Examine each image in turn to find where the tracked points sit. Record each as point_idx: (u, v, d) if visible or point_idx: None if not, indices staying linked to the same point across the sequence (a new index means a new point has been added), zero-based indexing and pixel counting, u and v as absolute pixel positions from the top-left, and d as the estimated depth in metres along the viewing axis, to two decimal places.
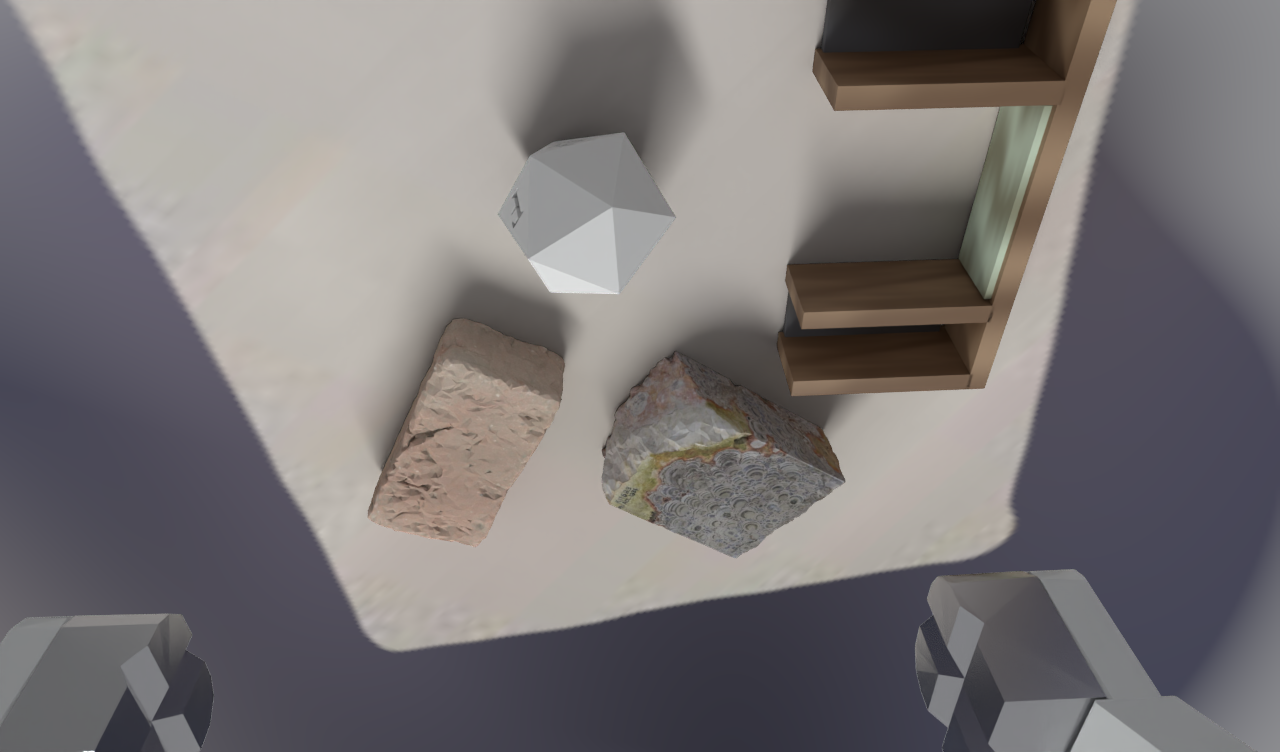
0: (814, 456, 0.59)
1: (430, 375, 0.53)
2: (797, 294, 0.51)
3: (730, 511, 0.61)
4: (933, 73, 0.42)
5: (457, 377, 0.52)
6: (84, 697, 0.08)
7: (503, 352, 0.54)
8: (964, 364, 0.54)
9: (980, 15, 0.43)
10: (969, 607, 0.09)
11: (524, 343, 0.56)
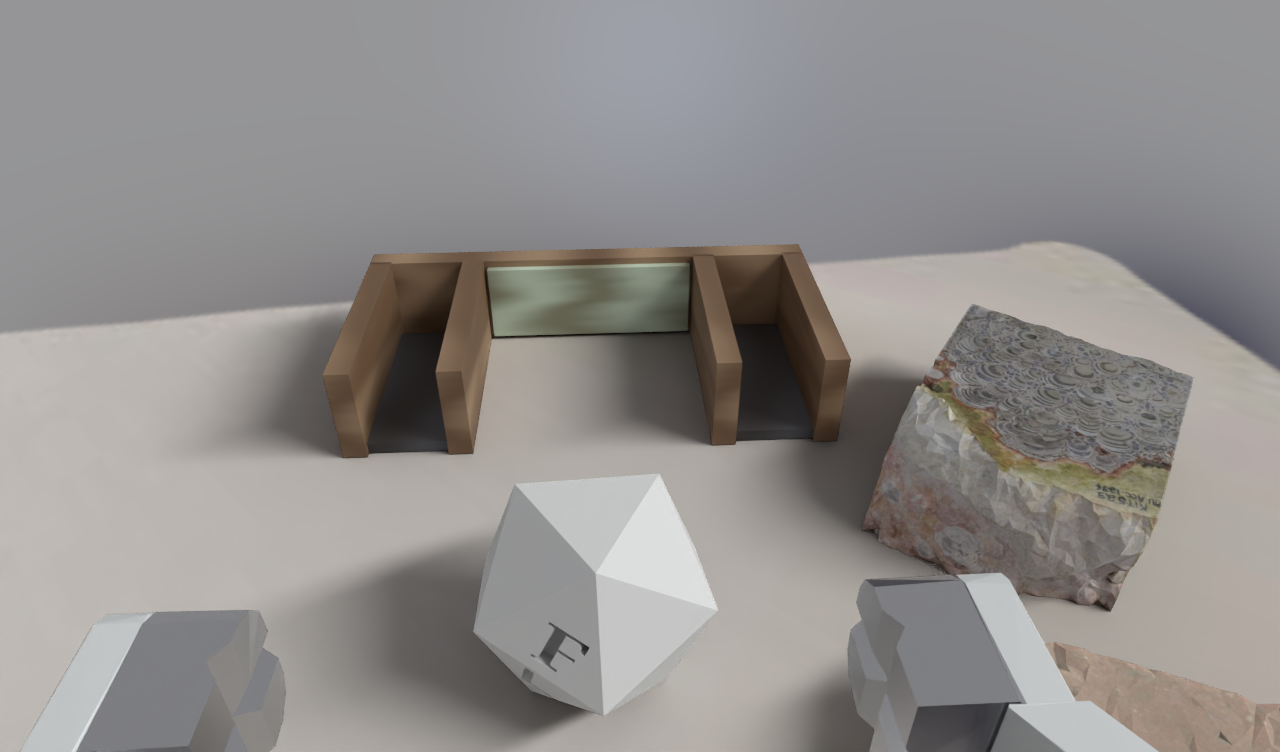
0: None
1: None
2: (716, 395, 0.42)
3: (1087, 387, 0.40)
4: None
5: None
6: (173, 693, 0.08)
7: None
8: (780, 269, 0.51)
9: (435, 355, 0.49)
10: (891, 611, 0.09)
11: None
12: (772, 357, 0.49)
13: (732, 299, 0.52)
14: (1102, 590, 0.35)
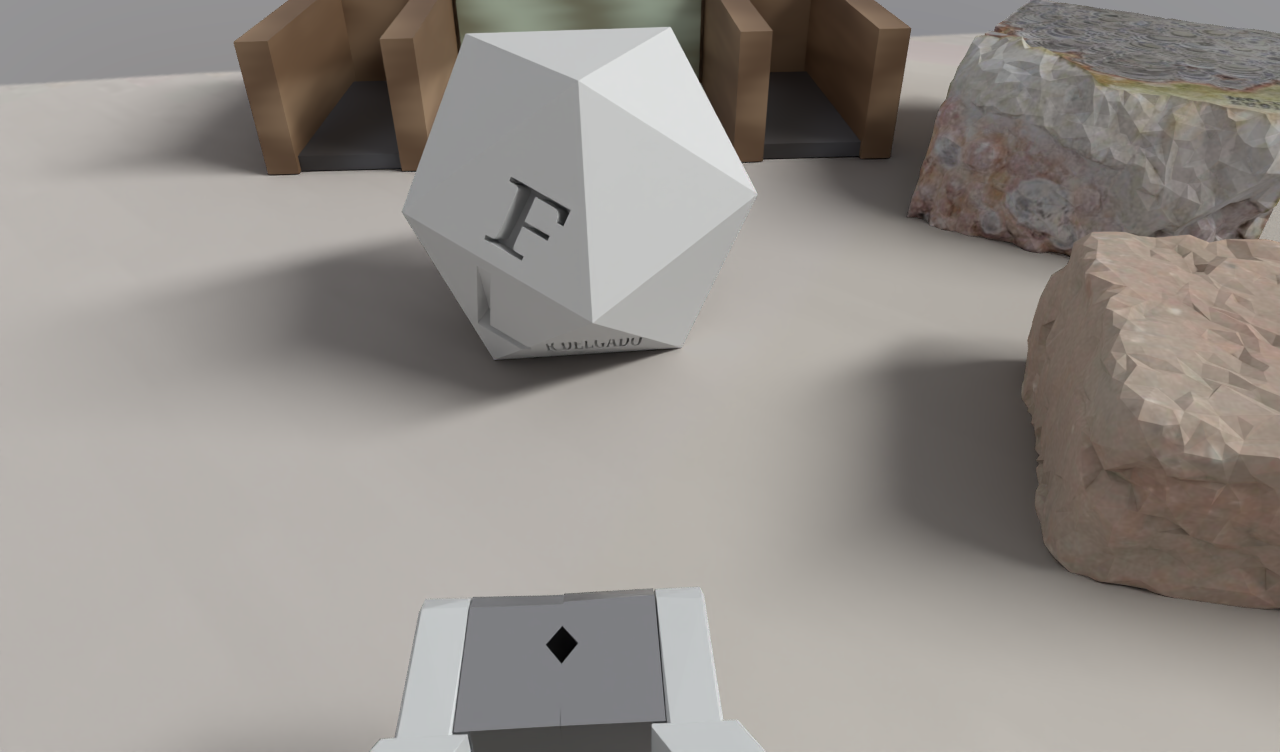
0: None
1: (1264, 467, 0.14)
2: (739, 83, 0.33)
3: (1192, 42, 0.31)
4: None
5: (1190, 387, 0.15)
6: (526, 675, 0.08)
7: (1056, 391, 0.19)
8: None
9: None
10: (571, 626, 0.09)
11: (1033, 422, 0.21)
12: (803, 93, 0.40)
13: None
14: None
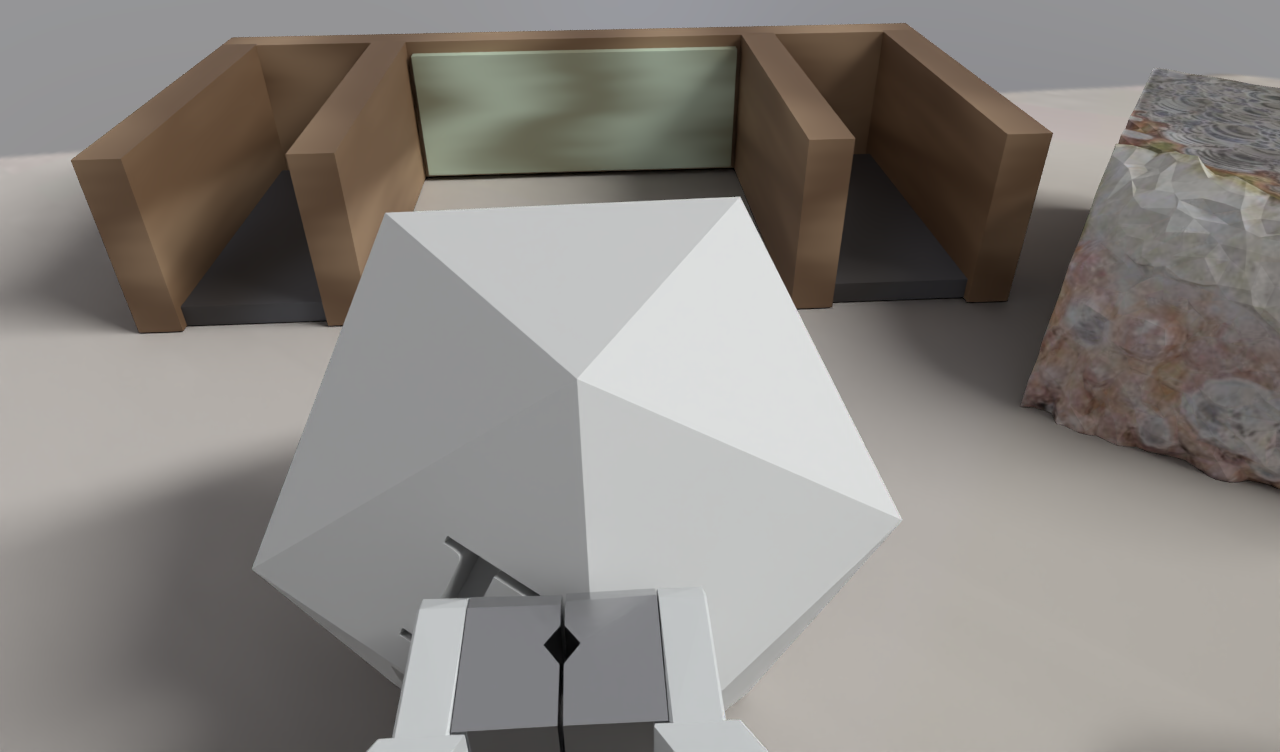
0: None
1: None
2: (804, 208, 0.23)
3: None
4: None
5: None
6: (523, 675, 0.08)
7: None
8: (879, 59, 0.32)
9: None
10: (574, 626, 0.09)
11: None
12: (872, 191, 0.30)
13: None
14: None
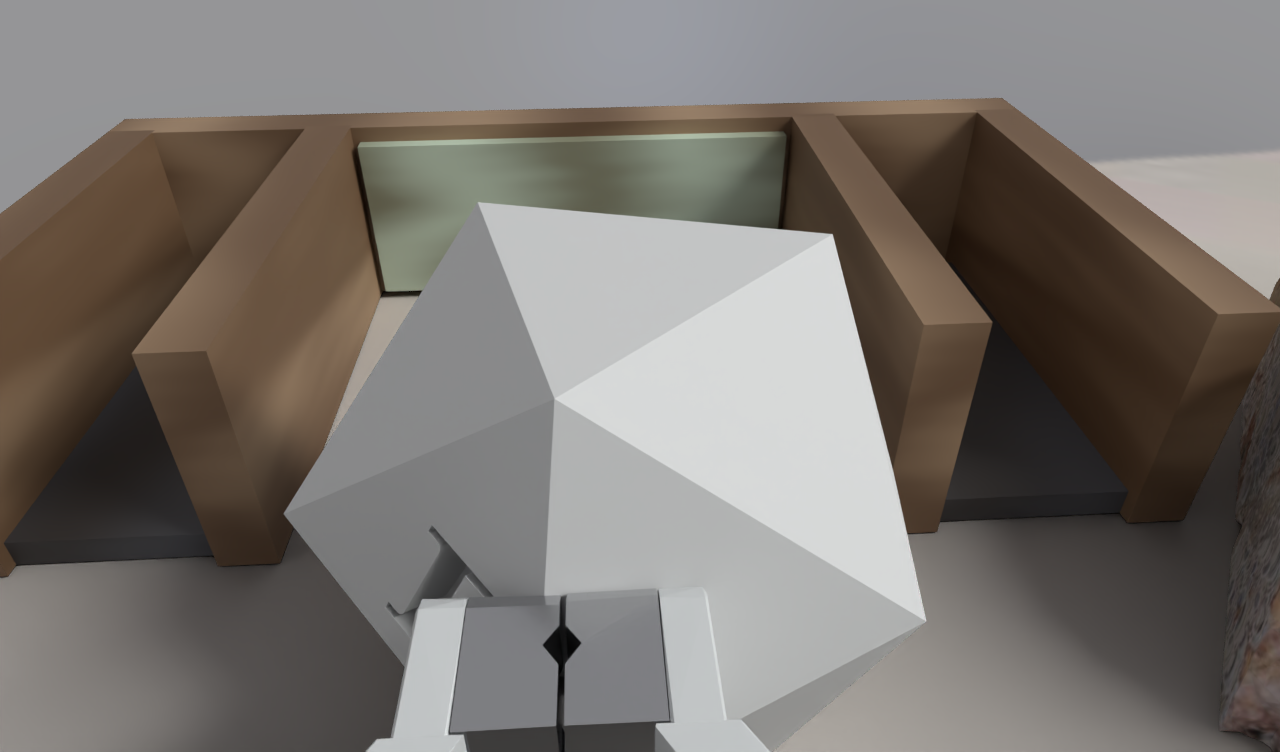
0: None
1: None
2: (908, 412, 0.16)
3: None
4: None
5: None
6: (522, 675, 0.08)
7: None
8: (969, 146, 0.25)
9: None
10: (575, 626, 0.09)
11: None
12: None
13: None
14: None
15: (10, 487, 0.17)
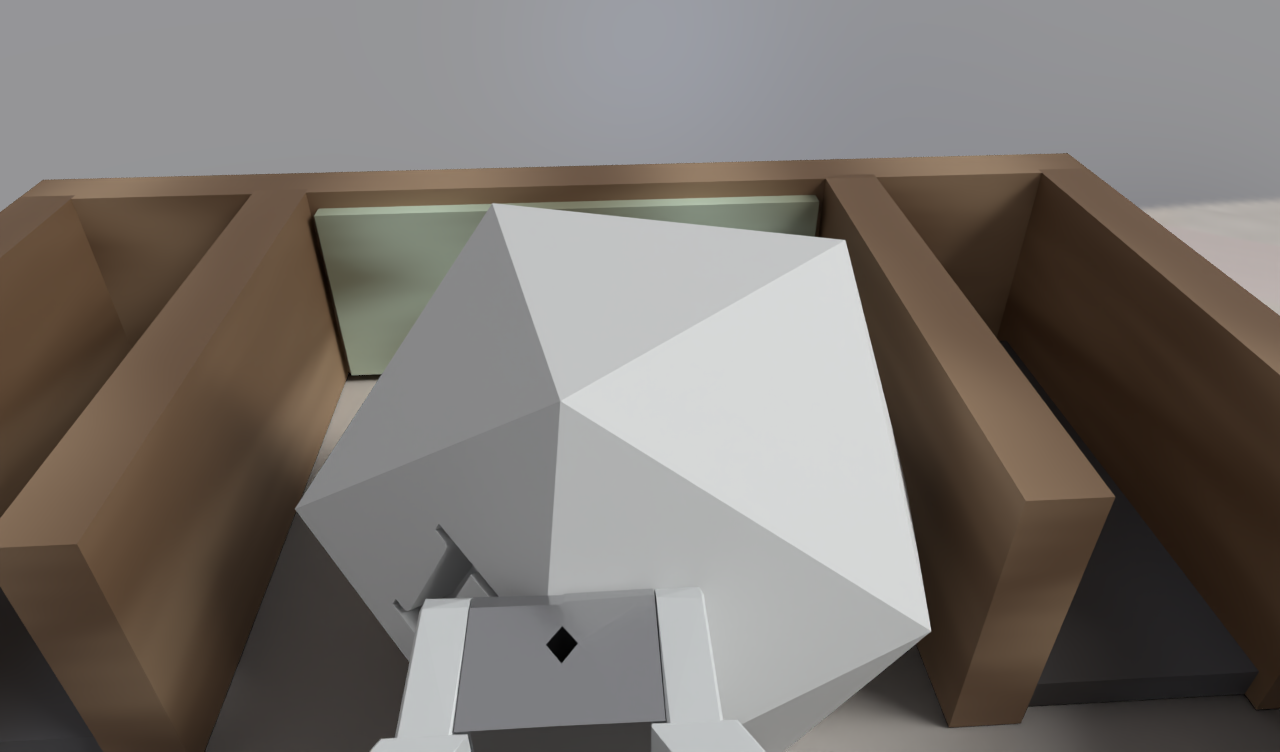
0: None
1: None
2: (996, 597, 0.12)
3: None
4: None
5: None
6: (526, 674, 0.08)
7: None
8: (1031, 210, 0.21)
9: None
10: (571, 626, 0.09)
11: None
12: None
13: None
14: None
15: None
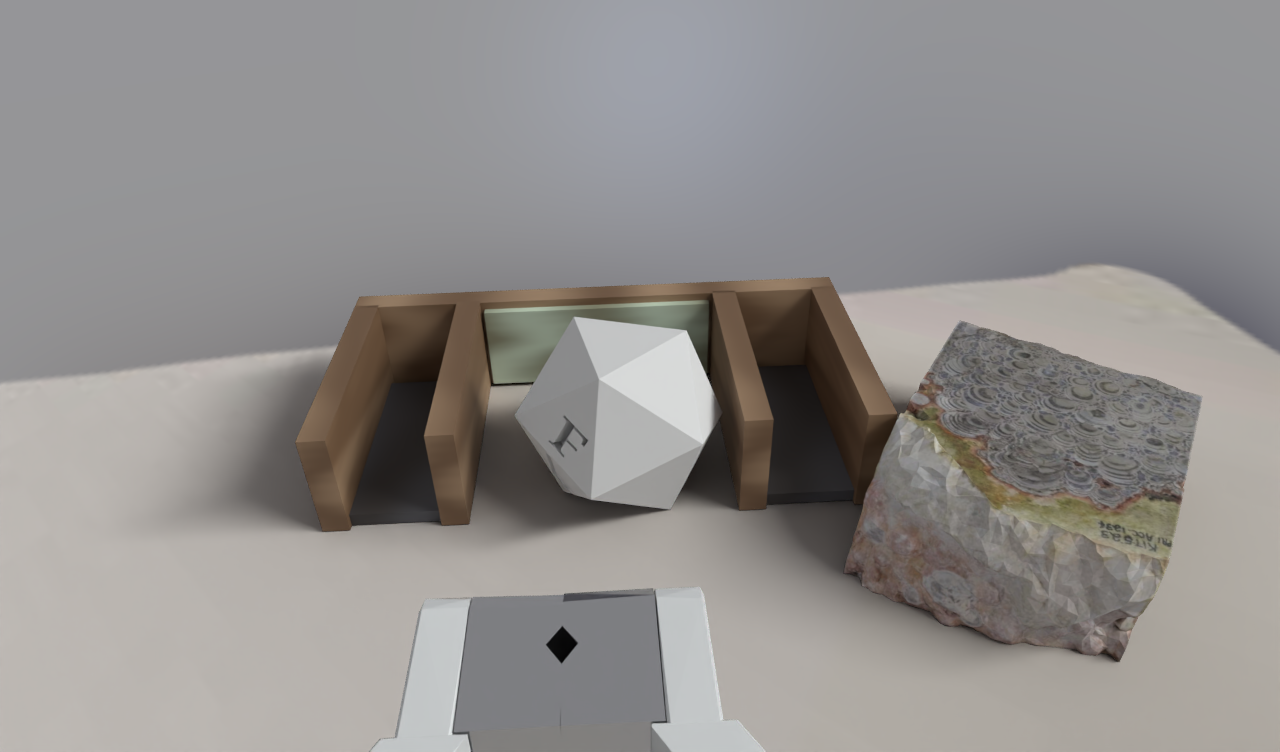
0: None
1: None
2: (744, 456, 0.37)
3: (1086, 410, 0.36)
4: None
5: None
6: (526, 675, 0.08)
7: None
8: (809, 305, 0.46)
9: (427, 408, 0.44)
10: (571, 626, 0.09)
11: None
12: (803, 404, 0.44)
13: (756, 339, 0.47)
14: (1109, 637, 0.32)
15: (349, 490, 0.38)
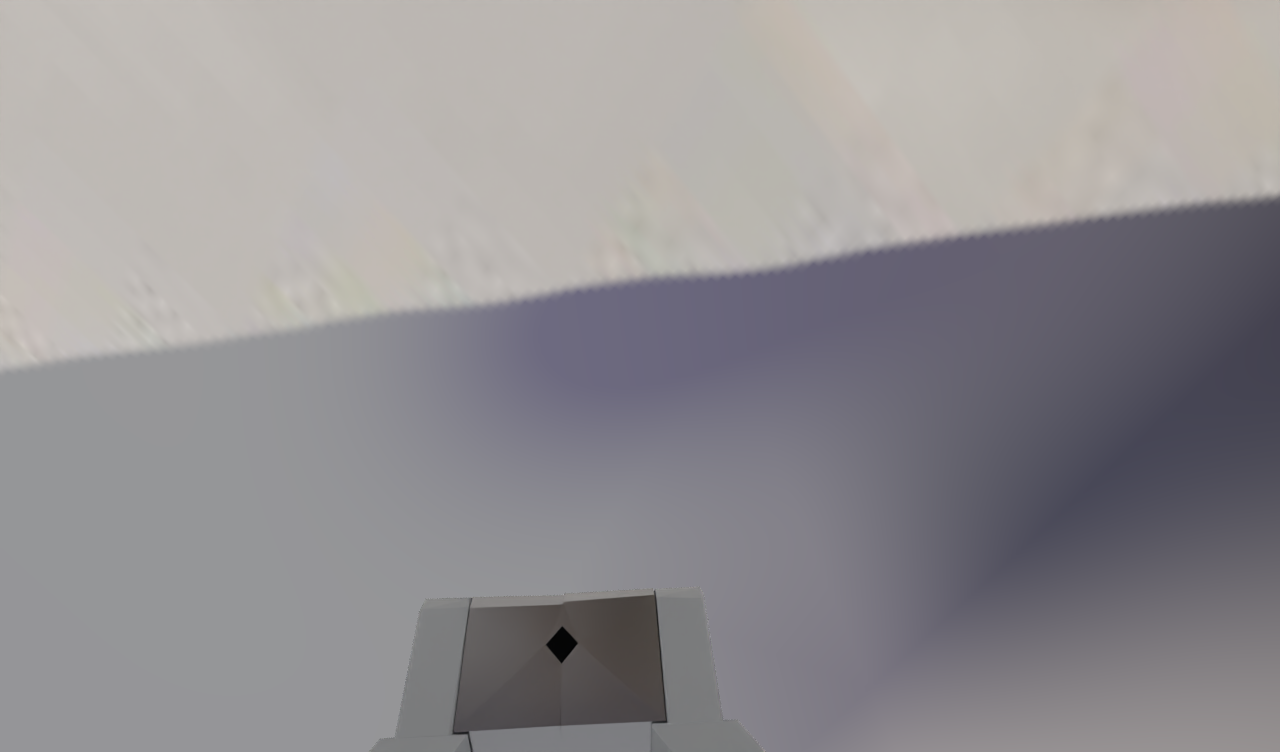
0: None
1: None
2: None
3: None
4: None
5: None
6: (526, 675, 0.08)
7: None
8: None
9: None
10: (572, 626, 0.09)
11: None
12: None
13: None
14: None
15: None
